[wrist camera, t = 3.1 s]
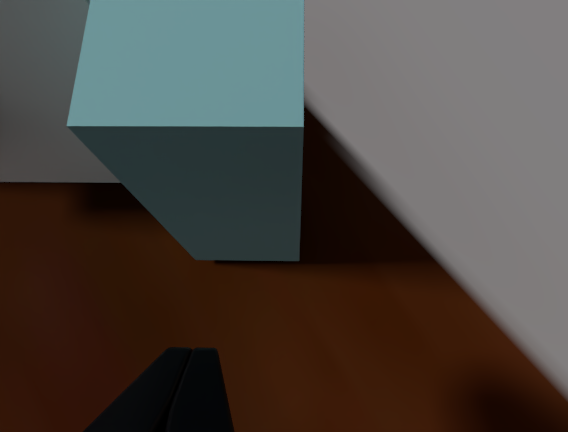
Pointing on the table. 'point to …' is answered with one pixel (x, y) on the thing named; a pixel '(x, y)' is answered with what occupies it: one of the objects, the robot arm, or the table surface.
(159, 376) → the robot arm
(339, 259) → the table surface
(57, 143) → the camera body
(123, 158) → the side door
